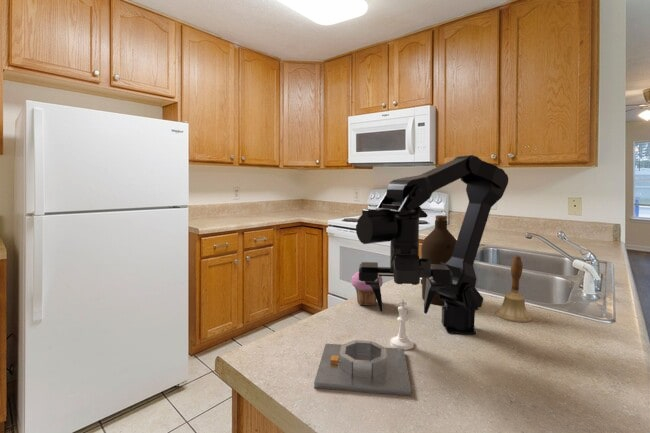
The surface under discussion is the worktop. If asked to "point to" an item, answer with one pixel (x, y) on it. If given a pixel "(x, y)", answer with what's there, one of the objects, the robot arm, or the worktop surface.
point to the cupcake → (364, 290)
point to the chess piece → (402, 330)
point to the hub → (363, 368)
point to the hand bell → (514, 297)
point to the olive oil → (437, 250)
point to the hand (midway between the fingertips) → (403, 311)
